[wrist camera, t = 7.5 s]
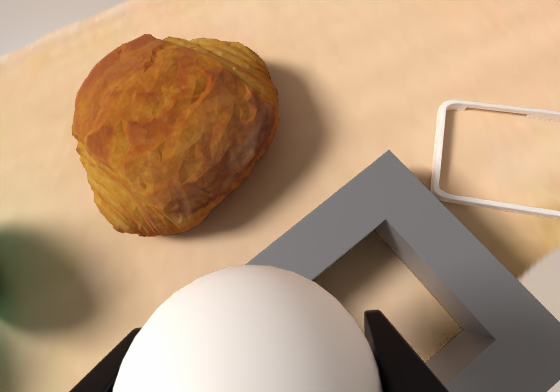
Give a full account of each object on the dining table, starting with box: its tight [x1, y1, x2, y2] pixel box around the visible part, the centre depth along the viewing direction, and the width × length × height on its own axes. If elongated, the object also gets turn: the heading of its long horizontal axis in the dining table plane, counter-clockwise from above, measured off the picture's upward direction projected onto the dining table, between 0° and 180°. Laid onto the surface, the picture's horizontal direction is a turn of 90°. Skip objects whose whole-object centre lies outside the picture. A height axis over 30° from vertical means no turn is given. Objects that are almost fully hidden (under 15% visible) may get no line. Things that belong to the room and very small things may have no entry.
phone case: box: [430, 100, 560, 220], centre depth 23 cm, size 7×1×15 cm
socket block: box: [246, 150, 560, 392], centre depth 20 cm, size 14×14×4 cm
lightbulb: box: [113, 265, 383, 392], centre depth 10 cm, size 6×6×11 cm
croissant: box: [72, 34, 280, 237], centre depth 24 cm, size 14×16×8 cm
